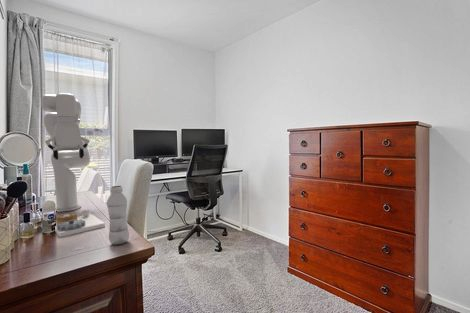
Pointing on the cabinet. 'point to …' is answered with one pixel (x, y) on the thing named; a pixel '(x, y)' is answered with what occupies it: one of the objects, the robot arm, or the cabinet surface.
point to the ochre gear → (65, 218)
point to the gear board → (79, 224)
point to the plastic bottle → (117, 216)
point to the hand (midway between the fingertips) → (69, 158)
